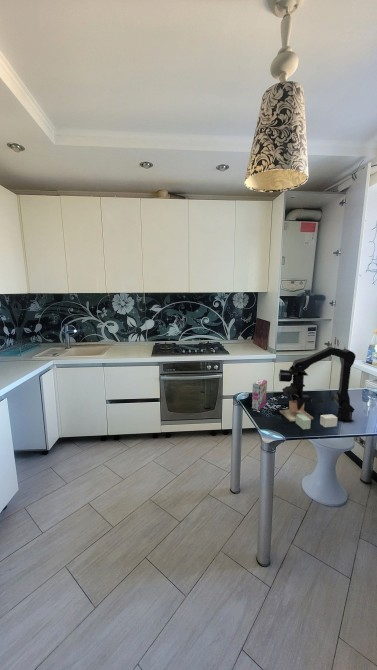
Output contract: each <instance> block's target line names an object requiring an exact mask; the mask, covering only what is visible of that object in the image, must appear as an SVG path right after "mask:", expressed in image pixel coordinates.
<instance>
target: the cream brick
mask: <svg viewBox="0 0 377 670" xmlns="http://www.w3.org/2000/svg"><path fill="white" fill-rule="evenodd" d="M336 416H337V415H334V414H332V413H331V414H322V415H321V414H320V418H319V425H321V426H322V427H324V428H332V427H338V418H337V417H336Z"/></svg>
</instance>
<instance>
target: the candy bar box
mask: <svg viewBox="0 0 377 670" xmlns="http://www.w3.org/2000/svg"><path fill="white" fill-rule="evenodd" d="M267 391H268V380H265V379H258V380H257V381H255V382H253V383H252V395H251V396H252V399H251V409H252V410H255V411H260V410H262V408H264V407H265V406H266V405H267V394H268V393H267Z"/></svg>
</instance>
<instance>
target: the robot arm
mask: <svg viewBox="0 0 377 670" xmlns="http://www.w3.org/2000/svg"><path fill="white" fill-rule="evenodd" d="M330 356H335V357H338V358H339V362H340V364H341V365H340V372H339V373H340V375H339V384H338V389H337V391H333V395H334V396H333V400H334V402H335V403H336V405H337V406H338V409H337V415H335V416H336V417H337V420H339V421H341V422H342V423H353V422H355V420H354V419H352V418H353V413H354V412H355V408H354V407H353V406H352V405H351V400H350V395H349V389H350V379H351V378H350V377H351V370H352V366H353V365H354V363H355V360H356V353H355V352H354V351H352V350H350V349H347V348H345V349H341V348H338V347H337V348H336V347H333V346H327V347H326V348H325V349H322V350H320V351H318V352H316V353H314V354H312V355H310V356H307V357H301V358H298V359H295V360H294V361H293V362H292V365H291V366H290V367H289V368H288V369H279V371H278V372H279V373H278V381H279V382H283V383H284V382H286V383H290V382H291V383H290V385H287V386H285V387H283V388H282V390H281V391H282V393H283V395H284V396H286V397H290V399H291V400H296V401H297V408H298V410H300V408H301V407H302V405H303V404H304V405H305V403H312V402H313V401H312V400H313V399H312V397H311V396H309V395H308V394H305V391H304V388H305V387H306V385H305V384H304V380H305V376H309V374H308V373H307V372H306V370H307V369H308V368H310V366H312V365H313V364H316V363H317V362H320V361H322V360H324V359H326V358H329V357H330Z"/></svg>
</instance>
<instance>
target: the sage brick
mask: <svg viewBox="0 0 377 670" xmlns="http://www.w3.org/2000/svg"><path fill="white" fill-rule="evenodd" d="M311 423H312V420H310V419H309V418H308V417H306V416H305V415H304V414H297V415H296V421H295V424H296V425H297V426H299V427H300V428H301V429H302V430H309V429H311Z"/></svg>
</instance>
